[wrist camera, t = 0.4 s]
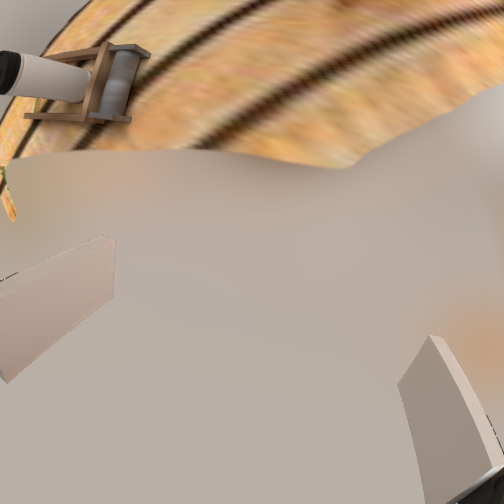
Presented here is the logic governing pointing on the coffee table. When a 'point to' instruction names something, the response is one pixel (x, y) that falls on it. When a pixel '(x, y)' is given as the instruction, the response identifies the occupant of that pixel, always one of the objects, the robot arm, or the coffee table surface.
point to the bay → (100, 83)
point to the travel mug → (41, 78)
